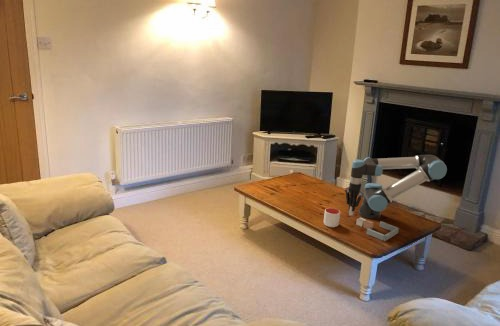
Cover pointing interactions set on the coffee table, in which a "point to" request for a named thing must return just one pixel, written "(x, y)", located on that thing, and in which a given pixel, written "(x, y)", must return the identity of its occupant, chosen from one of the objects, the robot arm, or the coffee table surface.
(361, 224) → the tile rear
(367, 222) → the tile front
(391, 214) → the coffee table surface
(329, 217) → the cup
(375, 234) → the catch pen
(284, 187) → the coffee table surface
